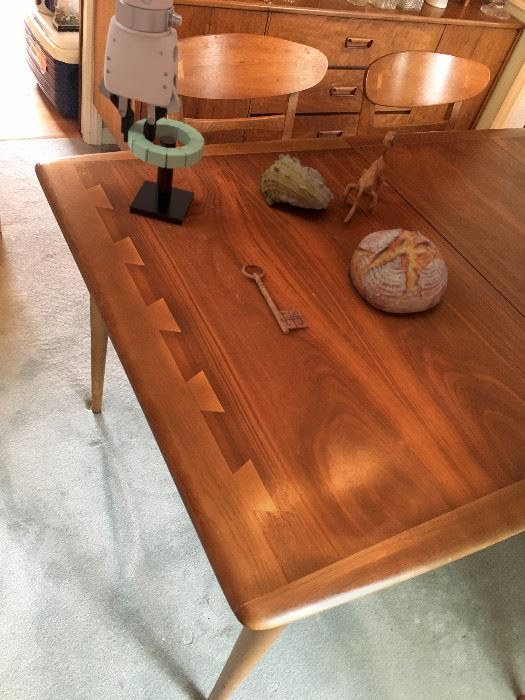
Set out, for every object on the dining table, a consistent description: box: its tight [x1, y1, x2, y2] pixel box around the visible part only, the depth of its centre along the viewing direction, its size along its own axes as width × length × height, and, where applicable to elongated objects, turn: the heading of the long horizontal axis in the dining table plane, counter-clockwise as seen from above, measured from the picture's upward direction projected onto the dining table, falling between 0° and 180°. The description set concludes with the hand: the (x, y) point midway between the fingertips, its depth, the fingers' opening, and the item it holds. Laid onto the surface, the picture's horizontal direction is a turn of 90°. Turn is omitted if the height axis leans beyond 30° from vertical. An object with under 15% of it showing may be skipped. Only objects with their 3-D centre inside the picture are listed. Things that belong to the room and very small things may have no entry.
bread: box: [349, 227, 449, 314], centre depth 92 cm, size 16×20×10 cm
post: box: [129, 136, 195, 226], centre depth 92 cm, size 9×9×12 cm
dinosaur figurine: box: [342, 127, 401, 224], centre depth 105 cm, size 18×7×14 cm, turn 154°
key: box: [241, 264, 308, 335], centre depth 86 cm, size 6×1×15 cm
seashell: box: [258, 153, 335, 211], centre depth 103 cm, size 11×14×10 cm
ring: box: [127, 117, 206, 169], centre depth 88 cm, size 12×12×2 cm
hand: (138, 140), depth 89 cm, fingers closed on ring, 2 cm apart
